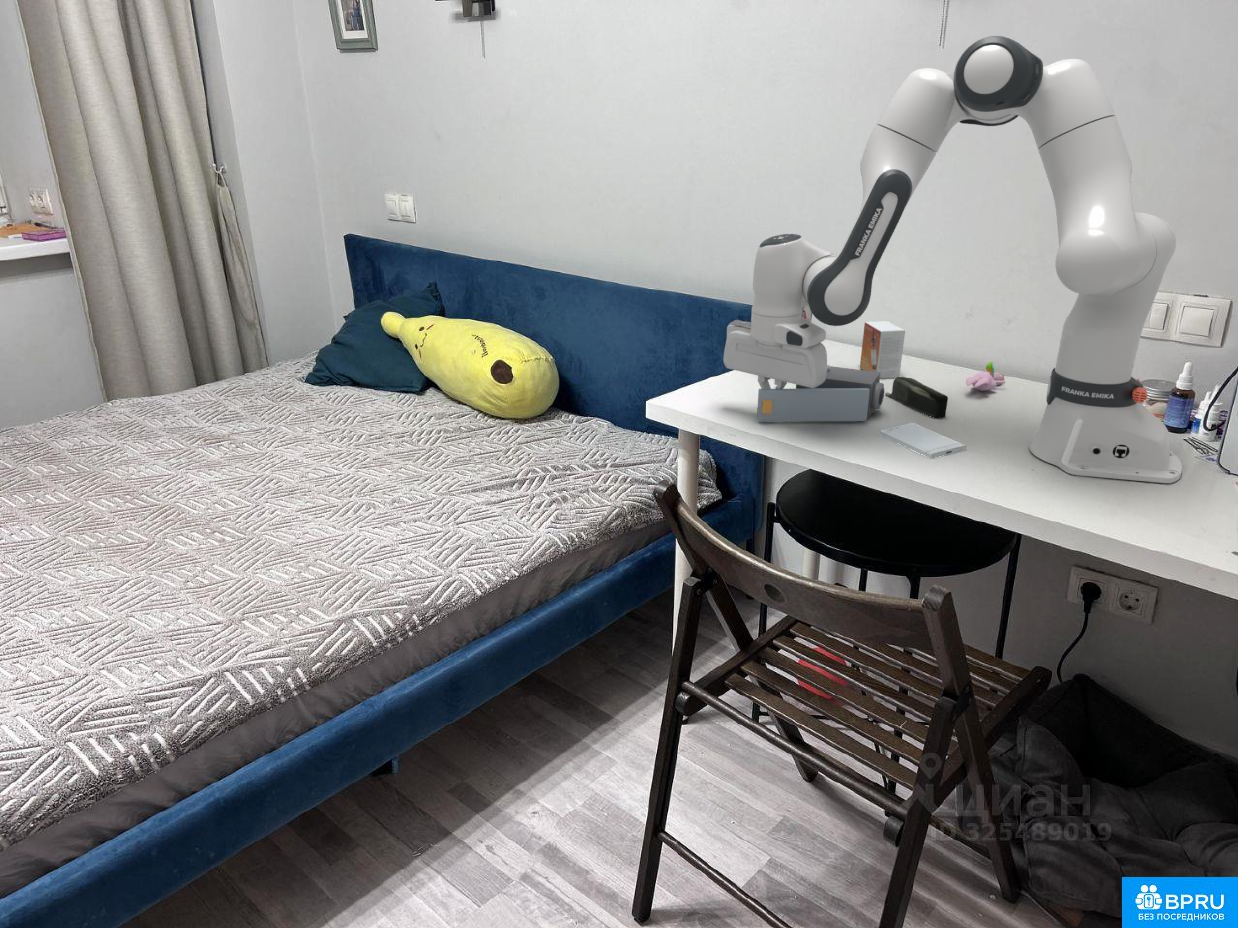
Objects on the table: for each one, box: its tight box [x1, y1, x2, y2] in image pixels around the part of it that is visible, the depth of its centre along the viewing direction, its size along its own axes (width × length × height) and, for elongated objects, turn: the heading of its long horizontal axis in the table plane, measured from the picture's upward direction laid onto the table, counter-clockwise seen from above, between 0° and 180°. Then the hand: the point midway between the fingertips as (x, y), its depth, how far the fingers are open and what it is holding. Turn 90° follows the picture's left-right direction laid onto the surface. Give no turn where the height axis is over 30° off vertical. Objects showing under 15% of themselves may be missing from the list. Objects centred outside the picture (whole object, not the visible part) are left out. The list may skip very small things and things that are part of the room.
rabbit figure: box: [965, 361, 1006, 392], centre depth 182 cm, size 6×6×15 cm
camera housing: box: [795, 364, 885, 421], centre depth 172 cm, size 16×8×8 cm, turn 64°
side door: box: [756, 388, 870, 423], centre depth 165 cm, size 20×2×6 cm, turn 90°
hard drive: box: [879, 422, 968, 459], centre depth 157 cm, size 2×8×12 cm
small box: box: [859, 320, 906, 380], centre depth 192 cm, size 8×6×10 cm
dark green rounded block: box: [884, 376, 949, 419], centre depth 173 cm, size 5×3×15 cm
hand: (771, 400), depth 167 cm, fingers closed
